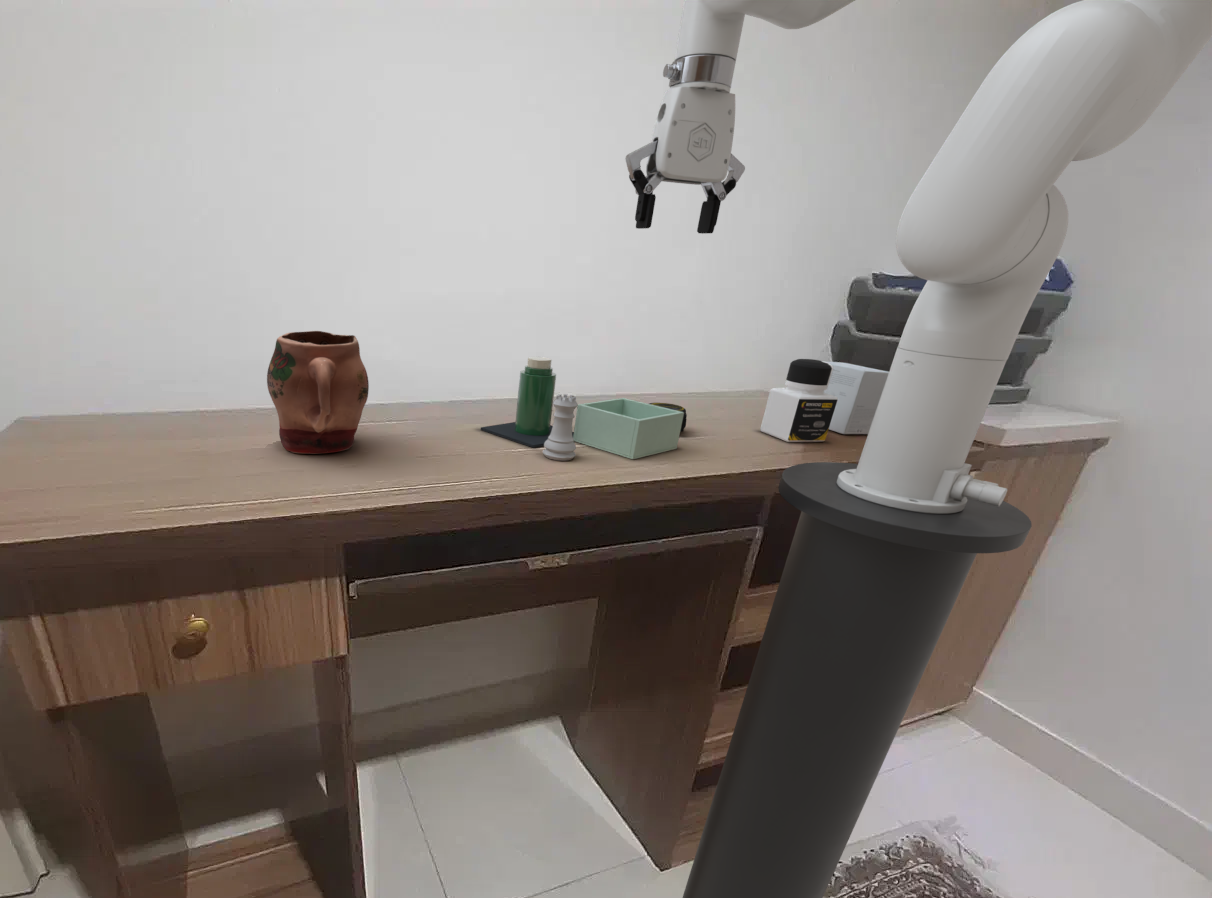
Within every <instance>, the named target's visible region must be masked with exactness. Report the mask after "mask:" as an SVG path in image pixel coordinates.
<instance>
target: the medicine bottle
mask: <svg viewBox="0 0 1212 898" xmlns="http://www.w3.org/2000/svg"><path fill="white" fill-rule="evenodd" d="M828 362H829V361H826V362H825V361H824V360H819V359H812V358H798V359H794V360H792V361H791V362H790V364H789V368H788V371H787V375H786V378H785V382H784V385H785V387H772V388H770V389H769V394H768V398H767V401H766V405H765V408H764V414H763V416H762V420H761V423H760V424H761V425H760V428H759V431H760V432H761V433H764V434H765V435H766V434H767V435H768V436H772V437H774V438H777V439H779V440H781V441H784V442H786V443H823V442H825V441H826V439H827V435H828V433H829V426H830V423H831V420H832V416H833V413H834V410H835V407H836V403H837V400H838V398H837V397H836V396H833V395H829V394H826V393H824V390H827V387H828V384H829V381H830V377H831V374H832V371H833V366H832V365H831V364H829V363H828Z"/></svg>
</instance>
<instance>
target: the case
mask: <svg viewBox="0 0 1212 898" xmlns="http://www.w3.org/2000/svg"><path fill="white" fill-rule="evenodd" d="M577 404H578V406H577V407H576V413H575V422H574V427H573V428H574V429H573V432H574V435H573V439H574V441H573V442H574V443H575V442H576V443H579V444H583V445H585V446H589V447H592V448H595V449H597V450H600V451H604V452H608V453H611V454H614V455H617V456H620V457H624V458H627V459H630V460H637V459H641V458H644V457H645V458H646V457H648V456H652V455H657V454H661V453H665V452H669V451H673V450H677V449H678V444H679V441H680V440H679V439H680V434H681V432H680V430H681V425H682V421H683V416H684V412H680V411H676V410H672V409H668V408H664V407H659V406H655V405H651V404H649V403H646V402H643V401H638V400H633V399H630V398H626V397H620V398H619V397H618V398H612V399H606V400H599V401H591V402H584V403H577Z"/></svg>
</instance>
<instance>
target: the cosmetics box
mask: <svg viewBox="0 0 1212 898" xmlns="http://www.w3.org/2000/svg"><path fill="white" fill-rule="evenodd" d="M825 362H828V363H829V364H831V365H832V366H833V371H832V374H831V377H830V381H829V384H828V387H827V390H824V393H826V394H829V395H833V396H836V397H837V398H838V400H837V403H836V407H835V410H834V413H833V416H832V420H831V423H830V426H829V429H828V431H833V432H835V433H838V434H840V435H868V433H869V430H870V427H871V424H872V421H873V418H874V415H875V412H876V409H877V406H878V404H879V401H880V398H881V395H882V392H883V389H884V386H885V383H886V380H887V377H888V374H889V371H888V370H882V369H877V368H873V367H867V366H863V365H858V364H853V363H849V362H842V361H841V362H840V361H839V362H838V361H825Z"/></svg>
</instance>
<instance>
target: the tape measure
mask: <svg viewBox="0 0 1212 898" xmlns="http://www.w3.org/2000/svg"><path fill="white" fill-rule="evenodd" d="M648 404H651V405H655V406H659V407H664V408H668V409H672V410H676V411H680V412H684V416H683V421H682V425H681V430H680V433H681V432H682V433H683V432H684V430H685V429H686V426H687V420H688V419H687V415H688V414H687V409H686V408H685V407H683V406H681V405H678V404H674V403H667V402H650V403H648Z"/></svg>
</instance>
